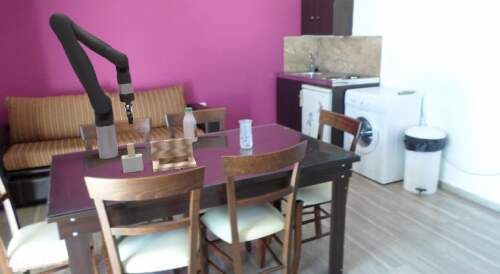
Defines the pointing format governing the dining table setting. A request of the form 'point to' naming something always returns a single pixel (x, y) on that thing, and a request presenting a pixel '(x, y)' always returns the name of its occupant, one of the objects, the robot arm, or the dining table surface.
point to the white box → (132, 160)
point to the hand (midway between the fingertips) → (131, 122)
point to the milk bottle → (189, 125)
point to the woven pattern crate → (172, 154)
